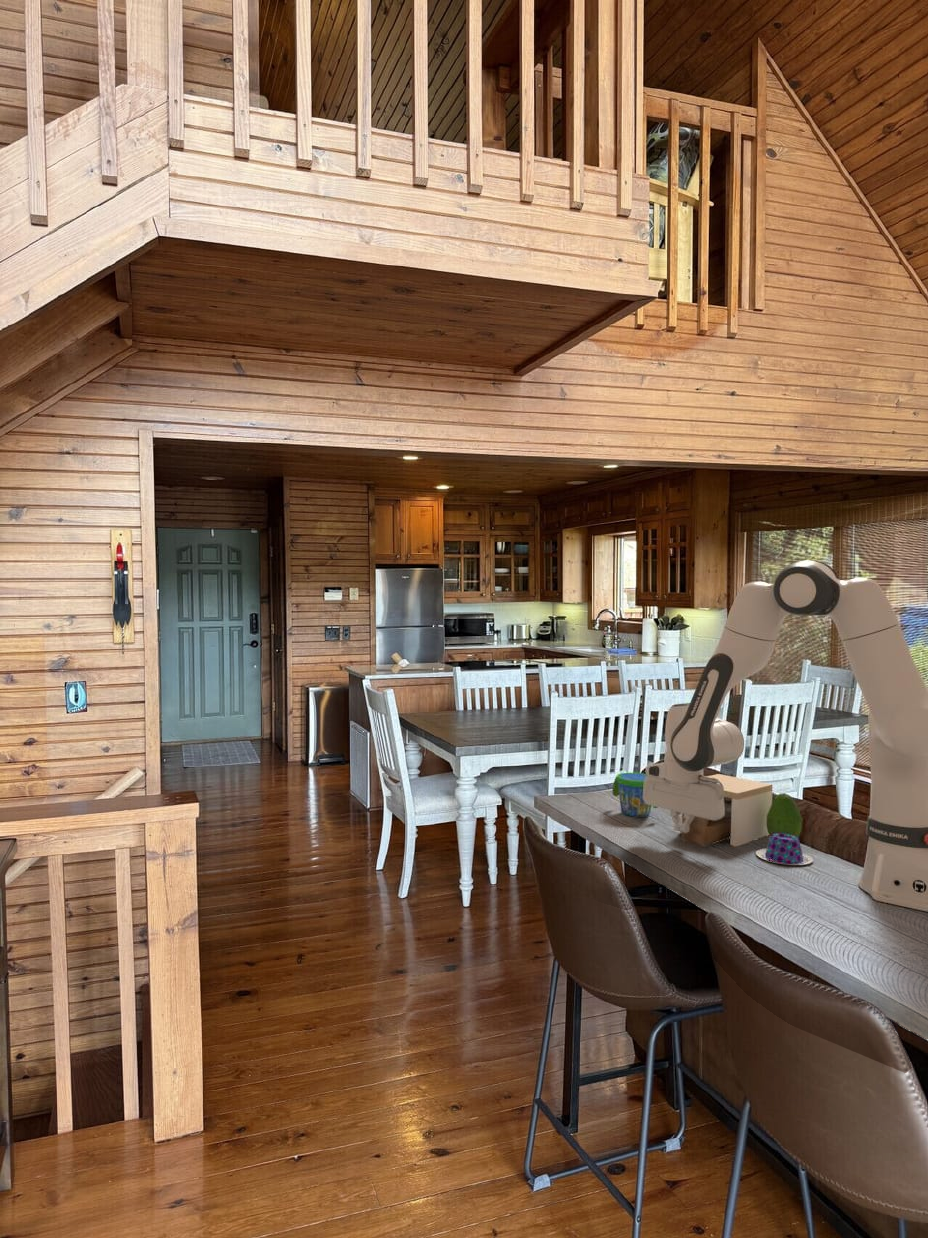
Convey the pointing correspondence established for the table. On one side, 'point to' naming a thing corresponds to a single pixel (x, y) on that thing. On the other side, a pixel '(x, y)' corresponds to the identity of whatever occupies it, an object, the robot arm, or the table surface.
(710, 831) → the tray
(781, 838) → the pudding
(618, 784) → the snack cup
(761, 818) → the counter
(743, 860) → the table surface
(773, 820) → the avocado
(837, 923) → the table surface
